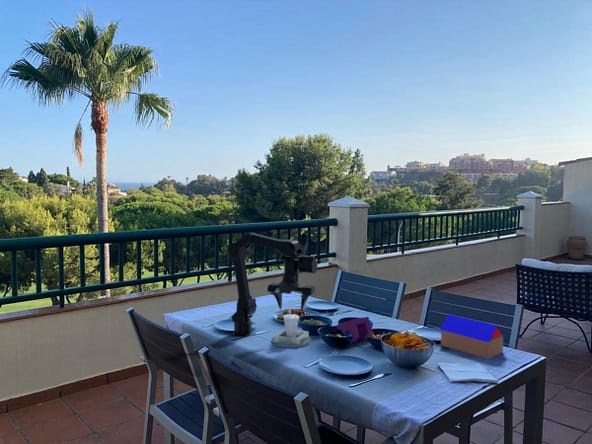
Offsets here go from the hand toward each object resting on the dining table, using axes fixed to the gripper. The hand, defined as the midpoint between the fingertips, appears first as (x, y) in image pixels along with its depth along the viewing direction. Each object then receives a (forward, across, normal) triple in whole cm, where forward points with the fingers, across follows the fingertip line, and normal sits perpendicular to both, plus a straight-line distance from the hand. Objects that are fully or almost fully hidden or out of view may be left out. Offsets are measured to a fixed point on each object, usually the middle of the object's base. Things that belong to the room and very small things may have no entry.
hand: (291, 309), depth 186 cm
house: (+13, +69, +15) cm, 72 cm away
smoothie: (+12, 0, 0) cm, 13 cm away
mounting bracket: (+13, +21, +14) cm, 28 cm away
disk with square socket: (+13, 0, 0) cm, 13 cm away
